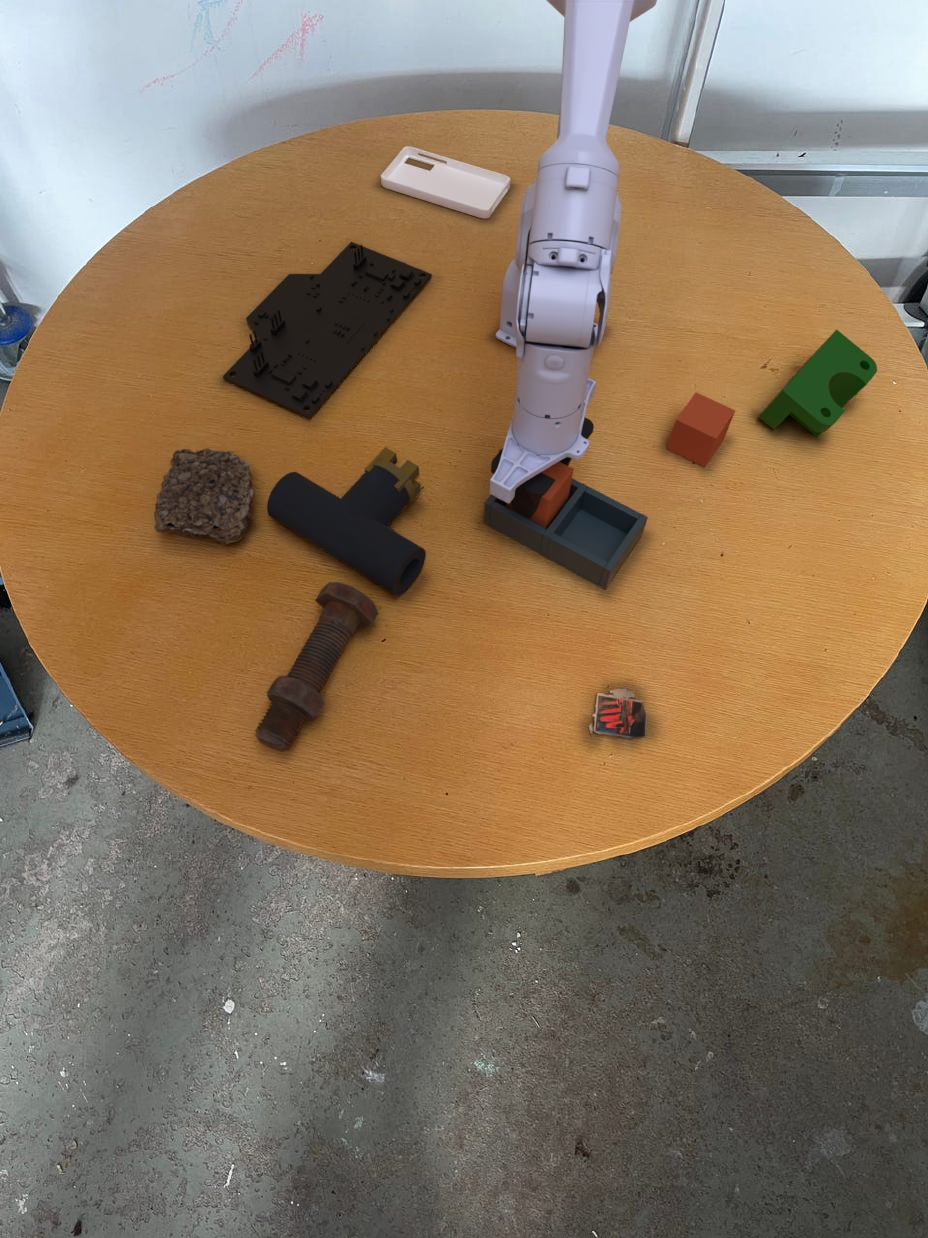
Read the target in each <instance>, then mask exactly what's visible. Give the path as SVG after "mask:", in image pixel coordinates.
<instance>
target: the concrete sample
mask: <svg viewBox="0 0 928 1238" xmlns="http://www.w3.org/2000/svg"><path fill="white" fill-rule="evenodd" d="M170 466H171V467H170V468H169V469H168V472H167V473H166V474H164V475H163V476H162V479H163V481H162V482H161V484H160V486H161V489H160V490H159V492H158V493H157V494H156V502H155V505H154V506H155V510H154V512H153V515H154V516H153V517H154V522H155V525H154V526H153V528H154V530H155V532H156V533H160V534H168V533H169V534H170V533H172V532H174V533H178V534H181V536H182V537H188V536H191V538H197V537H201V538H205V539H209V540H210V541H212V542H218V544H220V545H221V546H223V547H224V546H227V545H228V544H232V543H237V542H240V541H241V540H242V539H243V538H244V537H245V535H246V534H247V528H248V527H249V525H250V524H251V522H252V521H253V518H252V516H253V509H254V505H253V498H254V495H255V490H253V486H252V479H253V478H252V472H251V469H250V462H249V461H248V460H242V459H241V458H240V456H239V455H236V454H235V452H234V451H231V450H229V451H224V450H212V449H210V448H204V449H201V450H197V451H192V449H190V448H184V449H182V448H181V449H180V450H175V451H174V452H173V454H172V458H170Z"/></svg>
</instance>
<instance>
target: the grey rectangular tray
mask: <svg viewBox="0 0 928 1238" xmlns="http://www.w3.org/2000/svg"><path fill="white" fill-rule="evenodd" d="M506 506H507V503H506V502H505V501H503V500H500V499H499V498H497V497H495V496H493V495H492V494H490V495H489V497H488V498H487V499H486V500H485V501H484V507H483V508H484V510H483V524H484V525H486V526H487V527H490V528H492V529H494V530H496V531H498V532H499V533H501V534H503V535H505V536H506V537H508V538H509V539H512V540H514V541H516V542H517V543H519V544H521V545H523V546H525V547H527V548H528V549H530V550H531V551H534V552H535V553H537V554H539V555H541V556H543V557H545V558H546V559H548V560H550V561H551V562H554V563H556V565H557V564H558V565H559V566H561V567H563V568H565V569H566V570H568V571H570V572H572V573H574V574H576V575H577V576H579V577H581V578H582V579H584V580H586V581H588V582H589V583H592V584H594V585H595V586H597V587H599V588H600V589H603V590H604V591H605V590H607V589H608V587H609V586H610V584H611V582H612V581H613V580H614V578H615V577H616V575H617V574H618V572H619V571H620V570H621V568H622V566H623V565H624V563H625V562H626V561H627V559H628V558H629V556H630V555H631V553H632V552H633V550H634V549H635V547H636V546H637V544H638V543H639V541H640V540H641V538H642V536H643V534H644V531H645V528H646V525H647V521H648V519H649V517H648V516H647V515H645V514H643V513H640V512H639V511H637V510H635V509H633V508H631V507H629V506H627V505H625V504H623V503H622V502H619V501H617V500H615V499H613V498H612V497H610V496H608V495H606V494H604V493H602V492H600V491H598V490H596V489H594V488H593V487H590V486H589V485H587V484H585V483H583V482H581V481H579V480H577V479H575V478H573V477H572V481H571V486H570V492H569V497H568V499H567V500H566V502H565V503H564V504H563V506H562V507H561V508H560V510H559V511H558V512H557V514H556V515H555V516H554V518H553V519H552V520H551V522H550V523H549V524H548V526H547V527H546V528H543V527H541V526H540V525H538V524H536V523H534V522H532V521H530V520H528V519H527V518H525V517H523V516H521V515H519V514H517V513H515V512H514V511H512V510H510V509H508V508H506Z"/></svg>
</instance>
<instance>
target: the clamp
mask: <svg viewBox="0 0 928 1238" xmlns="http://www.w3.org/2000/svg"><path fill="white" fill-rule="evenodd" d="M877 372H878V366H877V363H876V361H875V360H874V359H873V358H872V357H871V356H870V355H869V354H867V353H866V352H865V351H864V350H862V348H860V347H859V346H858V345H856V344H855V343H854V342H853V341H852V340H850V339H849V337H847V336H846V335H844V334H843V332H841V331H840V330H838V329H837V328H836V330H834V331H833V333H831V334H830V335H829V337H828V338H827V339H826V340H825V341H824V342H823V343H822V344H821V345H820V346H819V347H818V349H817V350H816V351H814V353H813V354H812V355H811V356H810V357H809V358H808V359H807V360H806V361H805V363H803V365H802V366H801V367H800V368H799V370H797V372H796V373H795V374H794V375H793V376H792V377H791V379H789V381H788V382H787V383H786V384H785V385H784V386H783V387H782V389H781V390H780V391H779V392H778V393H777V395H775V397H773V399H772V400H771V401H770V402H769V404H767V406H766V407H765V408H764V409H763V410H762V411H761V412H760V414H759V415H758V417H757V418H760V420H761V421H763V422H764V423H765V424H766V425H767V426H769V427H770V428H771V429H772V430H775V429H776V428H777V427H779V425H780V424H781V423H782V422H783V421H784V420H785V419H786V418H787V417H788V416H790V417H792V419H794V420H795V421H796V422H797V423H799V424H800V425H801V426H802V427H803V428H804V429H806V431H808V432H810V433H811V434H812V435H813V436H814V437H815V438H818V437H819V436H820V435H821V434H822V433H825V432H827V431H828V430H829V429H830V428H831V427H832V426H833V425H835V424H836V423H837V421H838V420H840V418H841V417H842V415H844V413H845V412H846V409H844V408H843V407H844V406H845V405H846V404H848V403H849V402H850V401H851V400H852V399H853V398H854V397H855V396H856V395H857V394H858V393H859V392H860V391H862V390H863V389H864V388H865V387H866V386H867V385H868V384H869V382H870V381H871V380H872V379H873V378H874V377H875V375H876V374H877Z"/></svg>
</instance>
